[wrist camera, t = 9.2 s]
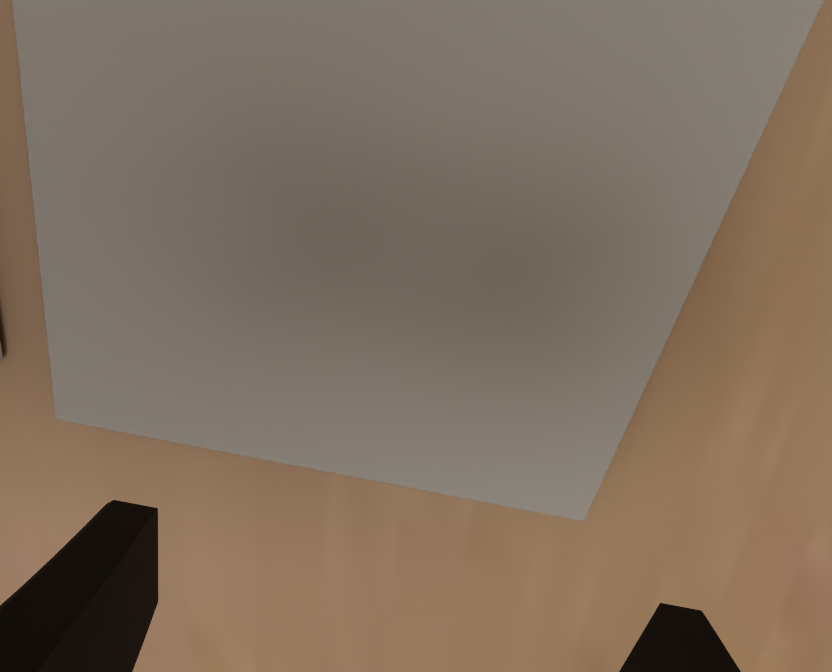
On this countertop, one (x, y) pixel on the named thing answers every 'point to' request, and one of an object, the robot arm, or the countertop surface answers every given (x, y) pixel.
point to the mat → (386, 221)
